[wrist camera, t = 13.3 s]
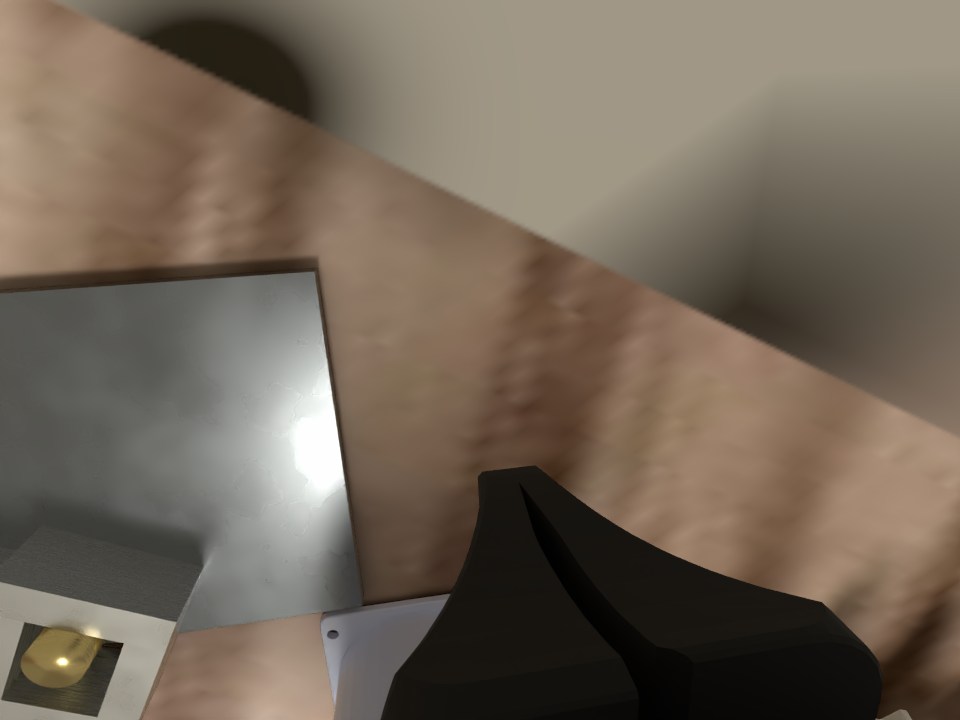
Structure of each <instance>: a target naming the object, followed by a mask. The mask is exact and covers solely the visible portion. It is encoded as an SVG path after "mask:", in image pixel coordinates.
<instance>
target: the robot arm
mask: <svg viewBox="0 0 960 720" xmlns="http://www.w3.org/2000/svg"><path fill="white" fill-rule="evenodd" d="M478 488H479V506H480V507H479V512H478V518H477V523H476V528H475V531H474V535H473V538H472V542H471V545H470V549H469V552H468V555H467V557H466V560H465V563H464V565H463V568H462V570H461V573H460V575H459V577H458V579H457V582H456V584H455V586H454V588H453V590H452V592H451V594H445V595H438V596H431V597H424V598H417V599H411V600H404V601H397V602H390V603H383V604H376V605H370V606H363V607H356V608H349V609H342V610H335V611H330V612H327V613H325V614H324V615H323V616H322V618H321V623H320V629H321V634H322V640H323V646H324V651H325V657H326V663H327V668H328V674H329V679H330V685H331V691H332V696H333V702H334V707H335V713H334V720H875V719H876V715H877V711H878V708H879V704H880V699H881V689H882V673H881V669H880V665H879V662H878V660H877V658H876V657H875V656H874V654H873V653H872V652H871V651H870V649H869V648H868V647H867V646H866V645H865V644H864V643H863V642H862V641H861V640H860V639H859V638H858V637H857V636H856V635H855V634H854V633H853V632H852V631H851V630H850V629H849V628H848V627H847V626H846V625H845V624H844V623H843V622H842V621H841V620H840V619H839V618H838V617H837V616H836V615H835V614H834V613H833V612H832V611H831V610H830V609H829V608H827V607H826V606H825V605H824V604H823V603H822V602H818V601H814V600H810V599H806V598H802V597H798V596H794V595H790V594H786V593H782V592H778V591H774V590H770V589H766V588H762V587H759V586H755V585H752V584H749V583H746V582H743V581H740V580H737V579H734V578H731V577H727V576H724V575H722V574H719V573H716V572H713V571H711V570H708V569H705V568H703V567H700V566H698V565H695V564H693V563H691V562H688V561H686V560H683V559H681V558H679V557H676V556H674V555H672V554H670V553H667V552H665V551H663V550H661V549H659V548H657V547H655V546H653V545H651V544H649V543H647V542H645V541H644V540H642V539H640V538H638V537H636V536H634V535H632V534H631V533H629V532H627V531H625V530H624V529H622V528H620V527H619V526H617V525H616V524H614V523H612V522H611V521H609V520H608V519H606V518H605V517H603V516H601V515H600V514H598V513H597V512H596V511H594V510H593V509H591V508H590V507H588V506H587V505H586V504H584V503H583V502H581V501H580V500H579V499H577V498H576V497H575V496H573V495H572V494H571V493H569V492H568V491H567V490H566V489H564V488H563V487H562V486H561V485H559V484H558V483H557V482H555V481H554V480H553V479H552V478H551V477H549V476H548V475H547V474H546V473H544V472H543V471H542V470H541V469H539V468H538V467H537V466H527V467H518V468H510V469H501V470H493V471H485V472H482V473H481V474H480V475H479V476H478ZM331 630H336V631H337V632H335V633H334V632H330V631H331Z"/></svg>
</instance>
